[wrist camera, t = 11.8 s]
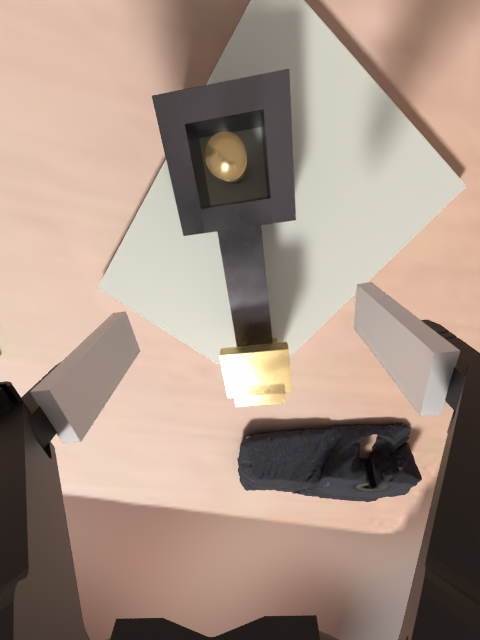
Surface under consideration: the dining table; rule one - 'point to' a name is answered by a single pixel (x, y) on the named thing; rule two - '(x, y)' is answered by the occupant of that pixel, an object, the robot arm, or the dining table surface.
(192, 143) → the link
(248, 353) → the block
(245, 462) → the black flat irregular piece
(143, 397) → the dining table surface
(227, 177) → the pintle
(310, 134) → the board
